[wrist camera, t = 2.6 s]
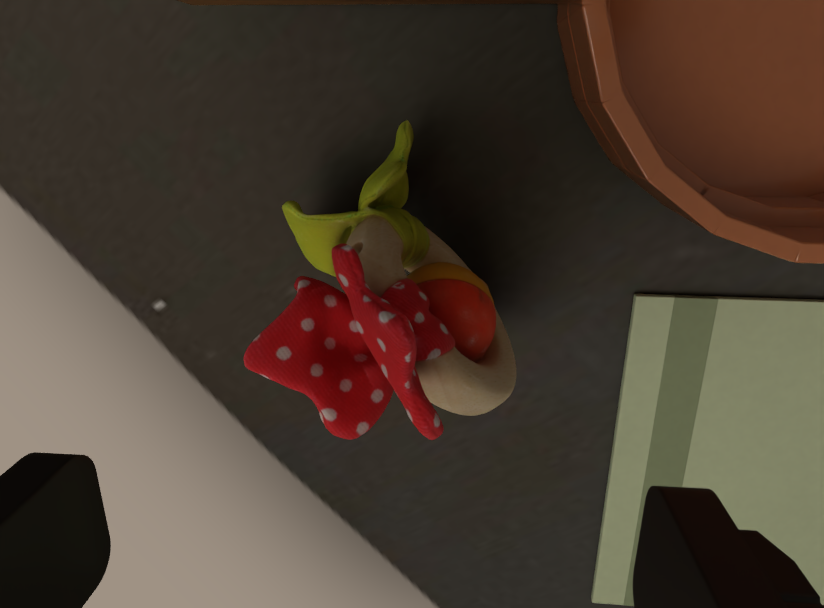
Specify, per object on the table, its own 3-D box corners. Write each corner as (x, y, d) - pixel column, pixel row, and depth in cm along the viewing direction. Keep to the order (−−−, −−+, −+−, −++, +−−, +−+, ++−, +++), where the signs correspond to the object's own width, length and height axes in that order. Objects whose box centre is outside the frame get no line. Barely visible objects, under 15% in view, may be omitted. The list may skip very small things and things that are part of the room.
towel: (633, 293, 23) (636, 296, 22) (1030, 305, 21) (1038, 309, 21) (590, 597, 28) (592, 603, 27) (909, 620, 27) (914, 626, 26)
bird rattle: (522, 219, 24) (353, 65, 19) (677, 422, 15) (439, 235, 10) (417, 320, 26) (239, 204, 21) (500, 552, 17) (229, 445, 12)
